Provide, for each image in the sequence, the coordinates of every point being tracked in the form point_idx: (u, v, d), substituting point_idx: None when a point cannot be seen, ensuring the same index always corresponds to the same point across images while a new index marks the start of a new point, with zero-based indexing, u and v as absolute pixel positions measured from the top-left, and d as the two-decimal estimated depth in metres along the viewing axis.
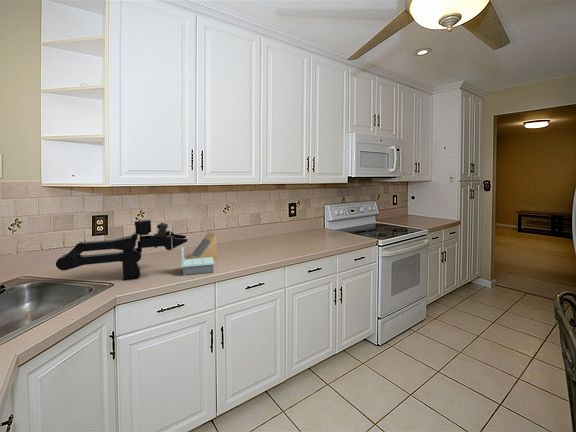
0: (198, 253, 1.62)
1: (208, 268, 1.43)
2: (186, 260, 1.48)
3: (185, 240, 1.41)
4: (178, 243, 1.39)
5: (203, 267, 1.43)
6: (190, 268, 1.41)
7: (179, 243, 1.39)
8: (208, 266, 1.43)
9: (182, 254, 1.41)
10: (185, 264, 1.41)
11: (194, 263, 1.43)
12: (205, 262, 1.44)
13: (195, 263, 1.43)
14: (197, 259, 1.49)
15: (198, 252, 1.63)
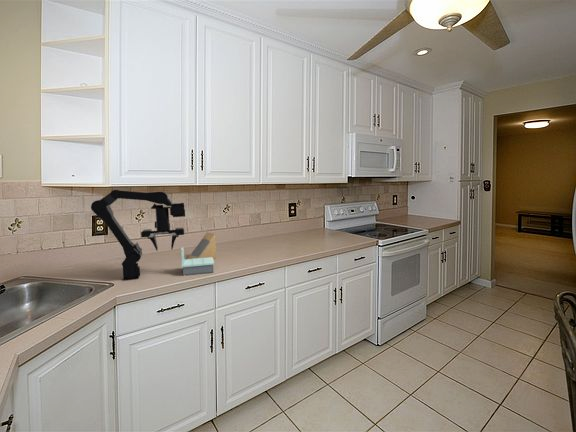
0: (197, 253, 1.62)
1: (208, 268, 1.43)
2: (186, 260, 1.48)
3: (172, 247, 1.42)
4: None
5: (203, 267, 1.43)
6: (190, 268, 1.41)
7: (174, 241, 1.41)
8: (208, 266, 1.43)
9: (182, 254, 1.41)
10: (185, 264, 1.41)
11: (194, 263, 1.43)
12: (205, 262, 1.44)
13: (195, 263, 1.43)
14: (197, 259, 1.49)
15: (198, 252, 1.62)
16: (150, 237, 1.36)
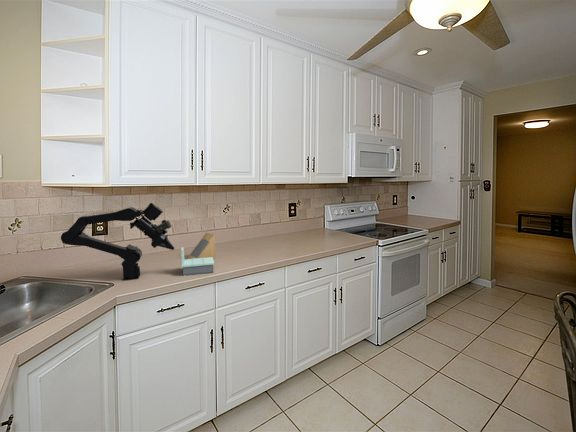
0: (196, 253, 1.61)
1: (208, 268, 1.43)
2: (186, 260, 1.48)
3: (172, 248, 1.41)
4: (165, 245, 1.39)
5: (203, 267, 1.43)
6: (190, 268, 1.41)
7: (165, 246, 1.39)
8: (208, 266, 1.43)
9: (182, 254, 1.41)
10: (185, 264, 1.41)
11: (194, 263, 1.43)
12: (205, 262, 1.44)
13: (195, 263, 1.43)
14: (197, 259, 1.49)
15: (197, 252, 1.62)
16: None
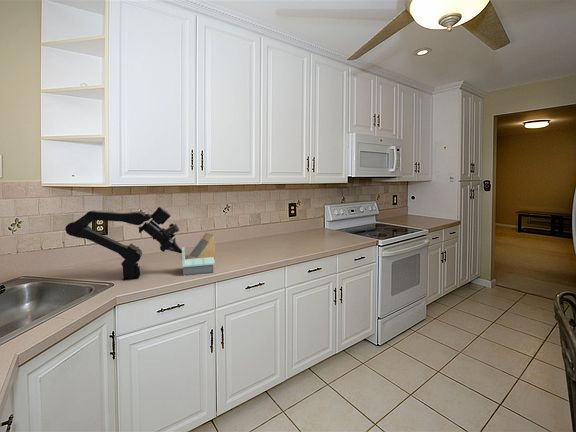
0: (195, 254, 1.61)
1: (208, 268, 1.43)
2: (187, 260, 1.48)
3: (180, 251, 1.43)
4: (173, 249, 1.41)
5: (203, 267, 1.43)
6: (190, 268, 1.41)
7: (174, 249, 1.41)
8: (208, 266, 1.43)
9: (183, 254, 1.41)
10: (186, 264, 1.41)
11: (195, 263, 1.43)
12: (206, 262, 1.44)
13: (196, 263, 1.43)
14: (198, 259, 1.50)
15: (196, 253, 1.61)
16: None
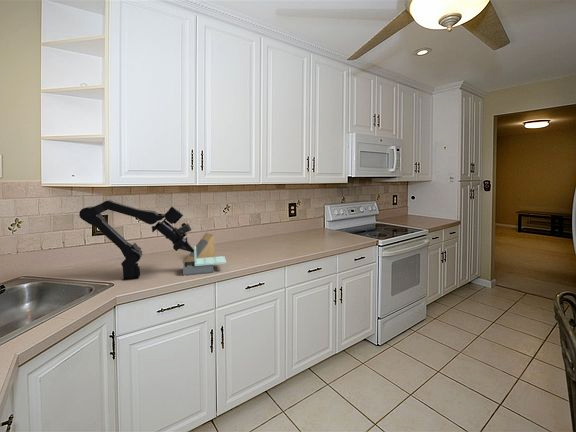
0: None
1: (208, 268, 1.43)
2: (198, 259, 1.50)
3: (192, 250, 1.44)
4: (185, 248, 1.42)
5: (203, 267, 1.43)
6: (190, 268, 1.41)
7: (186, 249, 1.43)
8: (208, 266, 1.43)
9: (195, 253, 1.43)
10: (198, 263, 1.43)
11: (207, 262, 1.44)
12: (217, 261, 1.46)
13: (208, 262, 1.44)
14: (209, 258, 1.51)
15: (196, 253, 1.61)
16: None
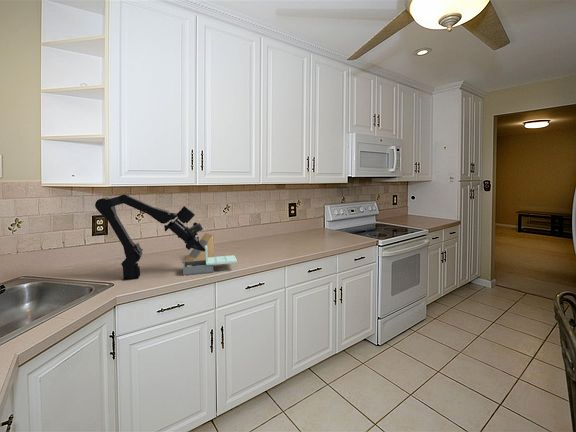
0: (194, 254, 1.60)
1: (208, 268, 1.43)
2: (209, 258, 1.51)
3: (203, 249, 1.46)
4: (197, 247, 1.44)
5: (203, 267, 1.43)
6: (190, 268, 1.41)
7: (197, 248, 1.44)
8: (208, 266, 1.43)
9: (206, 252, 1.44)
10: (209, 262, 1.44)
11: (218, 261, 1.46)
12: (228, 260, 1.48)
13: (219, 261, 1.46)
14: (220, 257, 1.53)
15: (195, 253, 1.60)
16: None
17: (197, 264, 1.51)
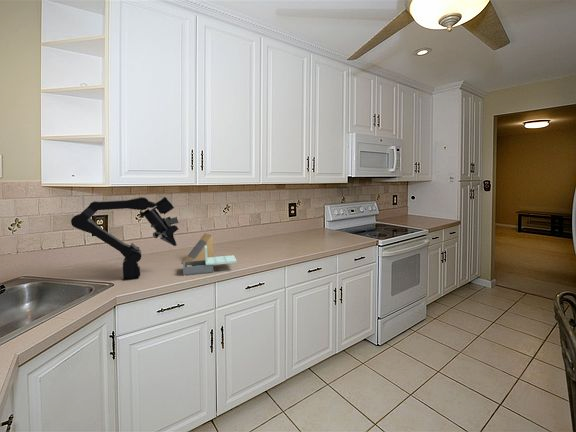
0: (193, 254, 1.59)
1: (208, 268, 1.43)
2: (209, 258, 1.51)
3: (175, 243, 1.44)
4: (170, 240, 1.42)
5: (203, 267, 1.43)
6: (190, 268, 1.41)
7: (170, 240, 1.42)
8: (208, 266, 1.43)
9: (206, 252, 1.44)
10: (209, 262, 1.44)
11: (217, 261, 1.46)
12: (228, 260, 1.48)
13: (218, 261, 1.46)
14: (219, 257, 1.53)
15: (194, 253, 1.60)
16: (161, 237, 1.43)
17: (197, 264, 1.51)
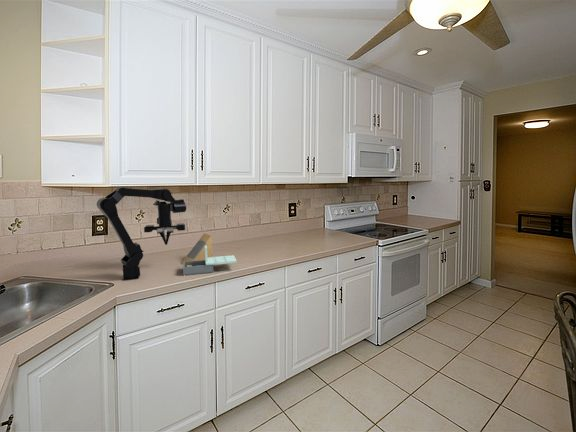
0: (192, 255, 1.59)
1: (208, 268, 1.43)
2: (209, 258, 1.51)
3: (167, 242, 1.48)
4: (168, 236, 1.47)
5: (203, 267, 1.43)
6: (190, 268, 1.41)
7: (168, 237, 1.47)
8: (208, 266, 1.43)
9: (206, 252, 1.44)
10: (209, 262, 1.44)
11: (217, 261, 1.46)
12: (228, 260, 1.48)
13: (218, 261, 1.46)
14: (219, 257, 1.53)
15: (193, 254, 1.59)
16: (159, 232, 1.44)
17: (197, 264, 1.51)
